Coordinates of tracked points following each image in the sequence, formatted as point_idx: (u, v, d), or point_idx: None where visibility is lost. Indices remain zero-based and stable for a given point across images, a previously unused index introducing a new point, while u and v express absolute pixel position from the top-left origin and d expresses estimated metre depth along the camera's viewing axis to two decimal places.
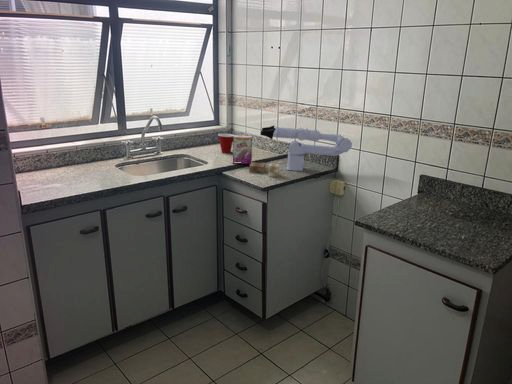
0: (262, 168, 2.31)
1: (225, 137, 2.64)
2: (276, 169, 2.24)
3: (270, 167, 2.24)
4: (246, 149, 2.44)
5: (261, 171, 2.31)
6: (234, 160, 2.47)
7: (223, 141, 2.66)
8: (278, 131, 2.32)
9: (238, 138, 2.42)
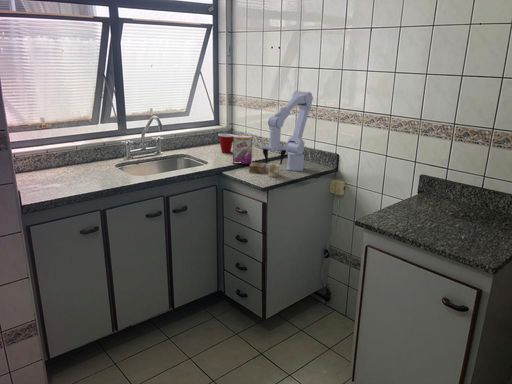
0: (262, 168, 2.31)
1: (225, 137, 2.64)
2: (276, 169, 2.24)
3: (270, 167, 2.24)
4: (246, 149, 2.44)
5: (261, 171, 2.31)
6: (234, 160, 2.47)
7: (223, 141, 2.66)
8: (279, 146, 2.21)
9: (238, 138, 2.42)
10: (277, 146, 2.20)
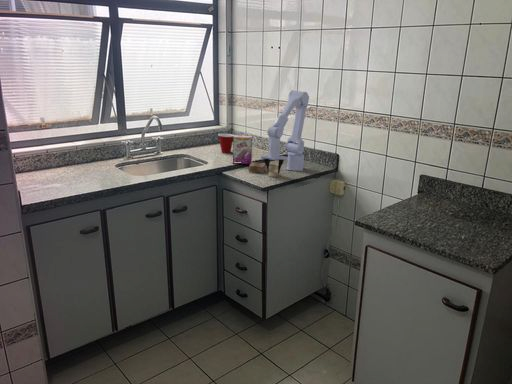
0: (261, 168, 2.31)
1: (225, 137, 2.64)
2: (276, 169, 2.24)
3: (270, 167, 2.24)
4: (246, 149, 2.44)
5: (260, 171, 2.31)
6: (234, 160, 2.47)
7: (223, 141, 2.66)
8: (278, 156, 2.23)
9: (238, 138, 2.42)
10: (277, 156, 2.22)
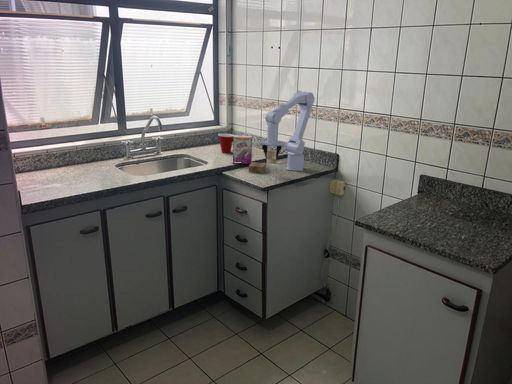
0: (261, 168, 2.31)
1: (225, 137, 2.64)
2: (274, 155, 2.23)
3: (268, 153, 2.23)
4: (246, 149, 2.44)
5: (260, 171, 2.31)
6: (234, 160, 2.47)
7: (223, 141, 2.66)
8: (276, 142, 2.21)
9: (238, 138, 2.42)
10: (275, 142, 2.20)
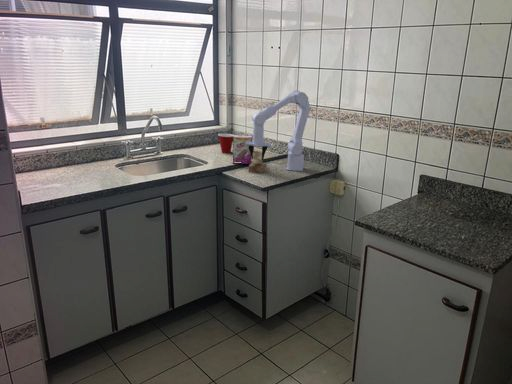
0: (261, 168, 2.31)
1: (225, 137, 2.64)
2: (260, 156, 2.30)
3: (254, 154, 2.30)
4: (246, 149, 2.44)
5: (260, 171, 2.31)
6: (234, 160, 2.47)
7: (223, 141, 2.66)
8: (262, 142, 2.29)
9: (238, 138, 2.42)
10: (260, 142, 2.28)
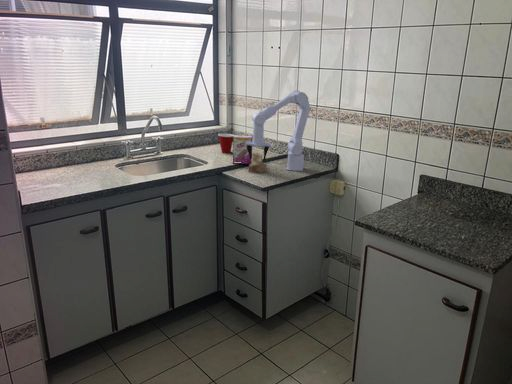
0: (261, 168, 2.31)
1: (225, 137, 2.64)
2: (259, 158, 2.31)
3: (254, 156, 2.31)
4: (246, 149, 2.44)
5: (260, 171, 2.31)
6: (234, 160, 2.47)
7: (223, 141, 2.66)
8: (262, 142, 2.29)
9: (238, 138, 2.42)
10: (260, 142, 2.28)
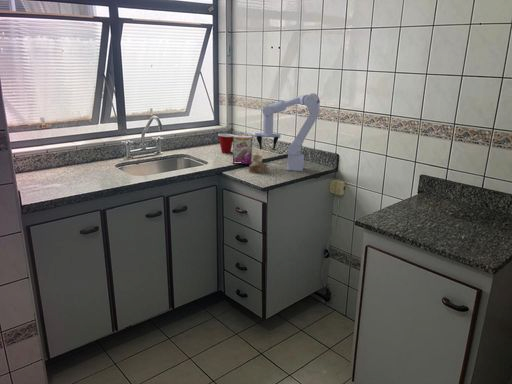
0: (261, 168, 2.30)
1: (225, 137, 2.64)
2: (260, 158, 2.31)
3: (254, 156, 2.31)
4: (246, 149, 2.44)
5: (260, 171, 2.31)
6: (234, 160, 2.47)
7: (223, 141, 2.66)
8: (272, 133, 2.37)
9: (238, 138, 2.42)
10: (270, 133, 2.36)
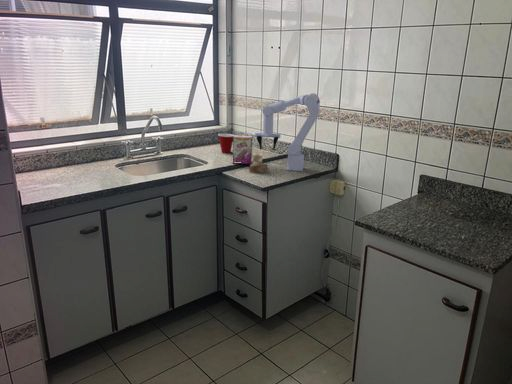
0: (262, 168, 2.30)
1: (225, 137, 2.64)
2: (260, 158, 2.31)
3: (254, 156, 2.30)
4: (246, 149, 2.44)
5: (261, 171, 2.31)
6: (234, 160, 2.47)
7: (223, 141, 2.66)
8: (272, 133, 2.37)
9: (238, 138, 2.42)
10: (270, 133, 2.36)
